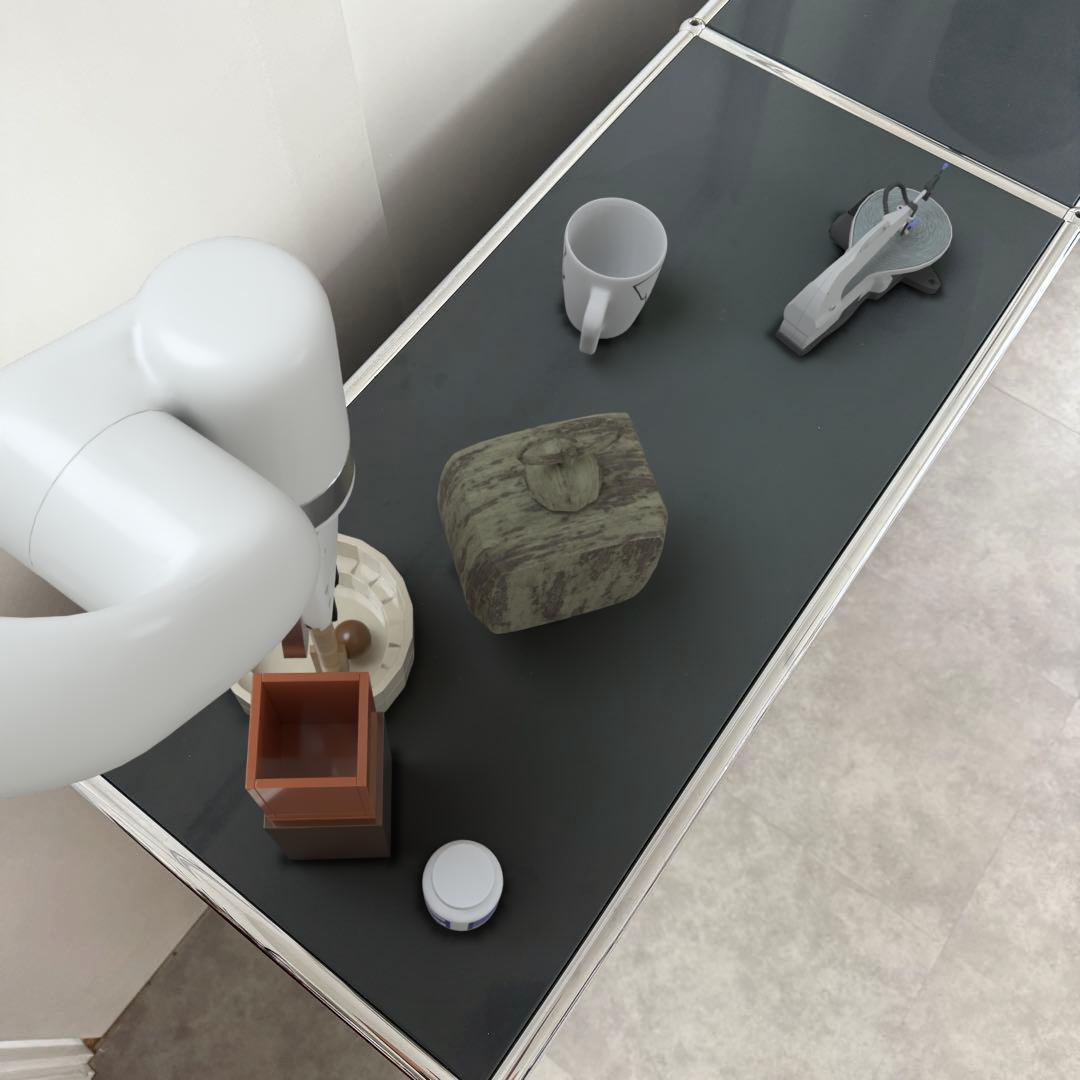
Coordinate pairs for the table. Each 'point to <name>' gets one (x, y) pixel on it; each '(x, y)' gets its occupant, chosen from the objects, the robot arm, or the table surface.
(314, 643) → the stirring stick
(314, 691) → the brown boxy piece
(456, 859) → the pill bottle
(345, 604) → the bowl
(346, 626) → the brown ball
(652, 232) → the mug
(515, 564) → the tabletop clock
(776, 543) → the table surface
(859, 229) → the jigsaw machine
